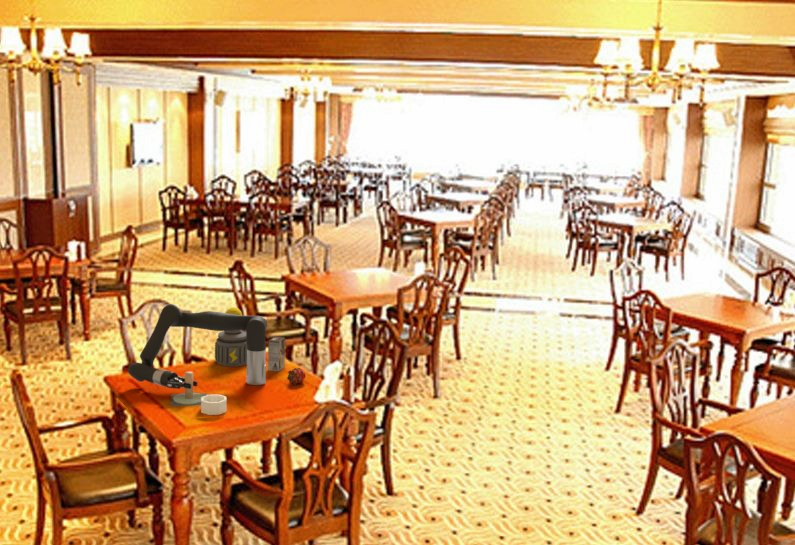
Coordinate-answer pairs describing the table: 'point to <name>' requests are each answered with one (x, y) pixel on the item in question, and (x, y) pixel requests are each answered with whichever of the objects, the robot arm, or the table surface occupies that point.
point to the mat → (181, 404)
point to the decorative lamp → (231, 345)
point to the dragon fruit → (296, 376)
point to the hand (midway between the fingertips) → (193, 385)
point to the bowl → (213, 404)
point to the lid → (188, 393)
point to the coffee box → (276, 353)
